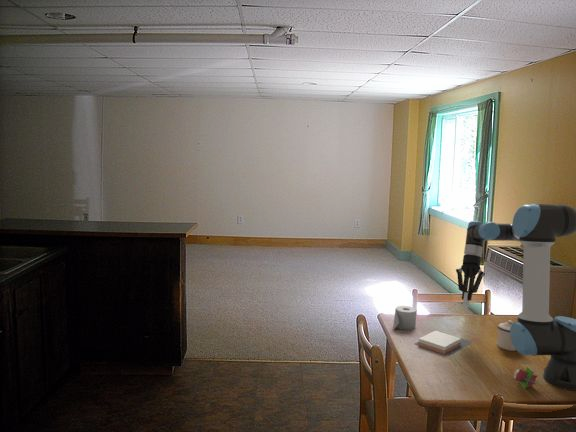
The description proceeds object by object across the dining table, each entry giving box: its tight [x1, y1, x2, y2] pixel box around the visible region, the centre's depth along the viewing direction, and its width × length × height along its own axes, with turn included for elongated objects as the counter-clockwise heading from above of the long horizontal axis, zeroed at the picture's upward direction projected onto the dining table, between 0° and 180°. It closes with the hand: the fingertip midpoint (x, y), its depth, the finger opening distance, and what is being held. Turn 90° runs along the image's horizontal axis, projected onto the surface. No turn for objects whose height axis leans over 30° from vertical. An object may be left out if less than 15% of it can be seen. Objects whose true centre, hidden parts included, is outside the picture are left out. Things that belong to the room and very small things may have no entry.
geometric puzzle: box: [513, 366, 538, 390], centre depth 177 cm, size 7×7×8 cm
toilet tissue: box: [392, 305, 417, 331], centre depth 232 cm, size 9×13×9 cm
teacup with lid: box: [496, 319, 517, 352], centre depth 214 cm, size 12×9×12 cm
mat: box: [414, 332, 473, 356], centre depth 215 cm, size 22×16×1 cm
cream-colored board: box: [417, 330, 462, 355], centre depth 212 cm, size 3×12×14 cm
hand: (465, 307), depth 221 cm, fingers closed
